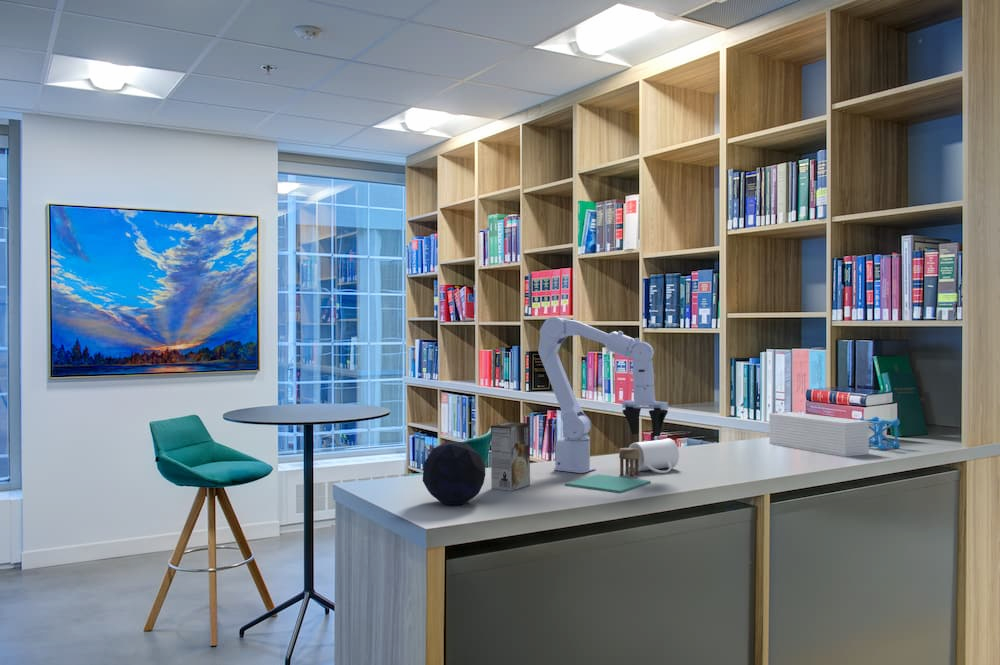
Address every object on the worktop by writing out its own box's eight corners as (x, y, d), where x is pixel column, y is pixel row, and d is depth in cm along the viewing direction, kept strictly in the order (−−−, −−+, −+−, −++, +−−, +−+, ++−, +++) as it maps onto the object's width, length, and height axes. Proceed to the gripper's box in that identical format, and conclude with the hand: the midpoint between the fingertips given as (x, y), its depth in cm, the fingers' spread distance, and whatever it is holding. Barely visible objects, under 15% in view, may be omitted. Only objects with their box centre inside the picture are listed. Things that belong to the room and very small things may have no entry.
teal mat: (565, 485, 202) (565, 483, 202) (597, 476, 215) (597, 474, 215) (620, 492, 193) (620, 490, 193) (650, 482, 205) (650, 480, 205)
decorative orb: (401, 478, 184) (425, 430, 177) (449, 470, 194) (474, 425, 188) (432, 524, 176) (459, 475, 169) (481, 512, 186) (508, 467, 180)
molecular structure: (882, 451, 258) (882, 420, 258) (855, 447, 267) (855, 417, 267) (901, 448, 263) (901, 418, 263) (874, 444, 272) (874, 415, 272)
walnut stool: (615, 475, 216) (615, 449, 216) (625, 472, 221) (625, 447, 221) (633, 477, 213) (633, 451, 213) (642, 474, 217) (642, 448, 217)
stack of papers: (769, 444, 276) (769, 413, 276) (791, 442, 280) (791, 412, 280) (845, 457, 247) (845, 423, 247) (869, 454, 252) (868, 421, 252)
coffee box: (509, 482, 206) (509, 421, 206) (530, 485, 203) (530, 422, 203) (490, 488, 198) (490, 425, 198) (512, 491, 195) (512, 426, 195)
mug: (689, 460, 220) (654, 465, 215) (678, 482, 225) (643, 487, 219) (667, 432, 229) (633, 435, 223) (657, 453, 233) (623, 457, 228)
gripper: (674, 385, 215) (676, 435, 215) (632, 384, 226) (634, 431, 226) (657, 386, 210) (659, 437, 210) (616, 386, 221) (618, 434, 221)
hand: (645, 434), depth 217 cm, fingers open, 7 cm apart
